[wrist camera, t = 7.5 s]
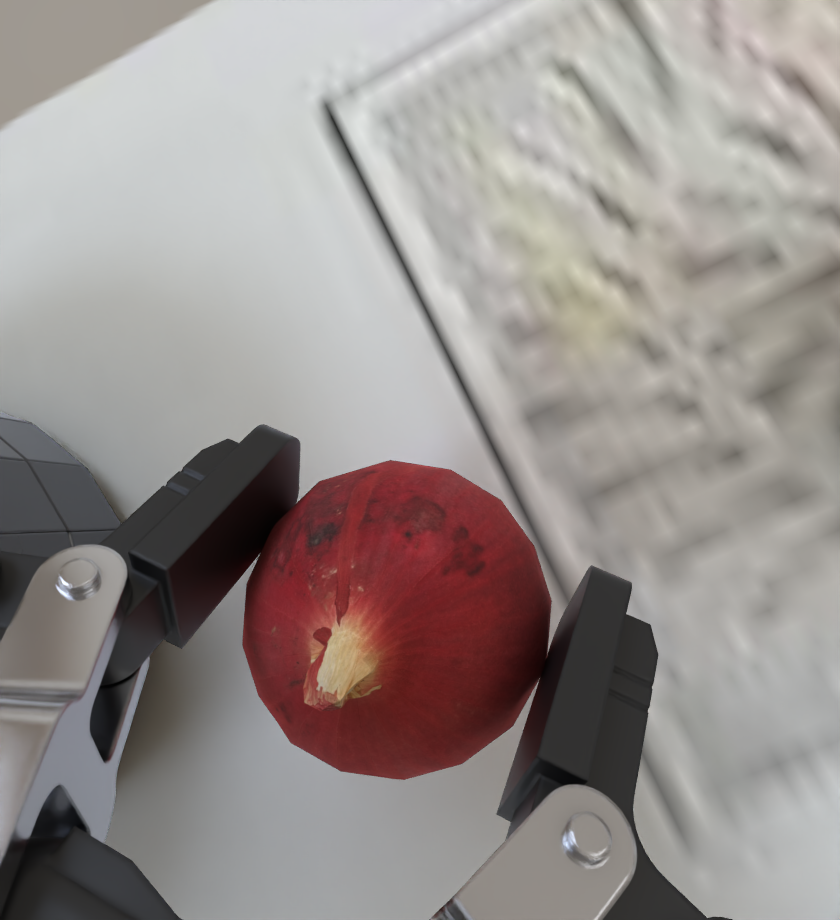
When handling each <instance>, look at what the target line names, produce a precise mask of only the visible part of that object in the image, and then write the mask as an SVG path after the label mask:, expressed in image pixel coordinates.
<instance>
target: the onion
mask: <svg viewBox="0 0 840 920" xmlns="http://www.w3.org/2000/svg"><path fill="white" fill-rule="evenodd" d="M551 602H552V601H551V598H550V594H549V591H548V588H547V585H546V582H545V579H544V575H543V572H542V569H541V566H540V563H539V560H538V556H537V553H536V550H535V547H534V545H533V544H532V542H531V541H530V540H529V538H528V537H527V536H526V534H525V533H524V531H523V530H522V529H521V527H520V526H519V524H518V523H517V522H516V520H515V519H514V517H513V516H512V515H511V513H510V512H509V511H508V509H507V508H506V506H505V505H504V504H503V502H502V501H501V500H500V499H498V498H496V497H495V496H493V495H491V494H490V493H488V492H486V491H485V490H483V489H482V488H480V487H478V486H477V485H475V484H473V483H472V482H470V481H468V480H467V479H465V478H463V477H462V476H460V475H458V474H457V473H455V472H454V471H452V470H449V469H443V468H436V467H430V466H424V465H417V464H411V463H405V462H398V461H392V460H390V461H386V462H382V463H379V464H376V465H372V466H369V467H366V468H362V469H359V470H356V471H352V472H349V473H346V474H342V475H339V476H336V477H332V478H329V479H326V480H322V481H319V482H318V483H317V484H316V485H315V486H314V487H313V488H312V489H311V490H310V491H309V492H308V493H307V494H306V495H305V496H304V497H303V498H302V499H301V500H300V501H298V502H297V503H296V504H295V505H294V506H293V507H292V508H291V509H290V510H289V511H288V512H287V513H286V514H285V515H284V516H283V517H282V518H281V519H280V520H279V521H278V522H276V524H275V525H274V527H273V529H272V530H271V532H270V534H269V536H268V538H267V540H266V543H265V545H264V547H263V549H262V551H261V554H260V556H259V558H258V560H257V562H256V565H255V567H254V569H253V571H252V573H251V576H250V578H249V580H248V582H247V587H246V600H245V614H244V628H243V648H244V651H245V655H246V658H247V661H248V664H249V667H250V670H251V673H252V677H253V680H254V683H255V686H256V689H257V692H258V696H259V697H260V698H261V700H262V701H263V703H264V704H265V706H266V707H267V708H268V710H269V711H270V713H271V714H272V715H273V717H274V718H275V720H276V721H277V722H278V724H279V726H280V727H281V729H282V730H283V732H284V733H285V735H286V736H287V738H288V739H289V741H290V742H291V743H292V744H294V745H296V746H297V747H299V748H301V749H303V750H304V751H306V752H308V753H310V754H311V755H313V756H315V757H317V758H318V759H320V760H322V761H324V762H325V763H327V764H329V765H331V766H332V767H334V768H336V769H338V770H339V771H342V772H349V773H356V774H364V775H371V776H378V777H385V778H392V779H402V780H405V779H408V778H412V777H416V776H419V775H423V774H427V773H430V772H434V771H438V770H442V769H445V768H449V767H453V766H456V765H460V764H462V763H464V762H465V761H466V760H468V759H469V758H471V757H472V756H473V755H475V754H476V753H477V752H479V751H480V750H481V749H483V748H484V747H485V746H487V745H488V744H489V743H491V742H492V741H494V740H495V739H496V738H498V737H499V736H500V735H502V734H503V733H504V732H506V731H507V730H508V729H510V728H511V727H512V726H513V725H514V723H515V721H516V720H517V718H518V716H519V714H520V712H521V711H522V709H523V707H524V705H525V703H526V702H527V700H528V698H529V696H530V695H531V693H532V691H533V689H534V687H535V686H536V684H537V682H538V680H539V678H540V677H541V674H542V672H543V670H544V667H545V662H546V658H547V652H548V639H549V627H550V614H551Z"/></svg>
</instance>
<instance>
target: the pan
mask: <svg viewBox="0 0 840 920" xmlns="http://www.w3.org/2000/svg"><path fill="white" fill-rule="evenodd" d="M120 525H121V523H120V521H119V520H118V518H117V516H116V515H115V513H114V511H113V510H112V508H111V506H110V505H109V503H108V502H107V500H106V498H105V497H104V495H103V493H102V492H101V490H100V488H99V487H98V485H97V484H96V482H95V480H94V479H93V477H92V475H91V474H90V472H89V470H88V469H87V468H86V467H84V465H83V464H82V463H80V462H79V461H78V460H77V459H75V458H74V457H73V456H72V455H71V454H69V453H68V452H67V451H66V450H65V449H63V448H62V447H61V446H60V445H59V444H57V443H56V442H55V441H54V440H53V439H51V438H50V437H49V436H48V435H47V434H45V433H44V432H43V431H42V430H41V429H39V428H38V427H37V426H36V425H33V424H32V423H31V422H28V421H26V420H23V419H20V418H17V417H14V416H11V415H8V414H5V413H3V412H0V551H5V552H12V553H20V554H27V555H34V556H41V557H51V556H53V555H54V554H56V553H58V552H60V551H62V550H65V549H67V548H70V547H74V546H78V545H86V544H95V545H97V544H99V543H100V542H102V541H103V540H104V539H106V538H107V537H108V536H109V535H110V534H111V533H112V532H113V531H114V530H116V529H117V528H118V527H119V526H120Z"/></svg>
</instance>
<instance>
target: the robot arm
mask: <svg viewBox="0 0 840 920" xmlns="http://www.w3.org/2000/svg"><path fill="white" fill-rule="evenodd" d="M299 469H300V442H299V440H298V439H297V438H295V437H292V436H290V435H288V434H285V433H283V432H281V431H278V430H276V429H274V428H271V427H269V426H267V425H264V424H263V425H259V426H257V427H256V428H255V429H254V430H253V431H252V432H251V433H250V434H248V435H247V436H246V437H245V438H244V439H243V440H242V441H241V442H240V443H237V442H235V441H233V440H230V439H226V440H224V441H221V442H219V443H217V444H215V445H212V446H210V447H208V448H206V449H203V450H202V451H200V452H199V453H198V454H197V455H196V456H195V457H194V458H193V459H192V460H191V461H190V462H189V463H187V464H186V465H185V466H184V467H183V469H182V471H181V472H180V471H179V472H178V473H177V474H175V475H174V476H173V477H172V478H171V479H170V480H169V481H168V482H167V485H166V486H162V487H161V488H160V489H159V490H158V491H157V492H156V493H155V494H154V495H153V496H152V497H150V498H149V499H148V500H147V501H146V502H145V503H144V504H143V505H142V506H141V507H140V508H138V509H137V510H136V511H135V512H134V513H133V514H132V515H131V516H130V517H129V518H128V519H126V520H125V521H124V522H123V523H122V524H121V525H120V526H119V527H118V528H117V529H116V530H114V531H113V532H112V533H111V534H110V535H109V536H108V537H107V538H106V539H104V540H103V541H102V542H100V543H99V544H97V545H95V544H86V545H78V546H74V547H70V548H67V549H65V550H62V551H60V552H58V553H56V554H54V555H53V556H51V557H41V556H34V555H27V554H20V553H12V552H5V551H0V920H182V919H180V918H179V917H178V916H177V915H176V914H175V913H174V911H173V910H172V909H171V908H170V906H169V905H168V904H167V903H166V902H165V900H164V899H163V898H162V897H161V895H160V894H159V893H158V892H157V891H156V889H155V888H154V887H153V886H152V884H151V883H150V882H149V881H148V879H147V878H146V877H145V876H144V875H143V873H142V872H141V871H140V870H139V868H138V867H137V866H136V865H135V864H134V862H133V861H132V860H130V859H129V858H127V857H125V856H124V855H122V854H120V853H119V852H117V851H115V850H114V849H112V848H110V847H109V846H107V845H105V840H106V837H107V834H108V830H109V827H110V823H111V819H112V815H113V810H114V805H115V797H116V777H117V771H118V766H119V762H120V759H121V756H122V752H123V749H124V746H125V743H126V739H127V736H128V733H129V730H130V726H131V723H132V720H133V717H134V713H135V710H136V707H137V704H138V700H139V697H140V694H141V691H142V687H143V684H144V681H145V678H146V674H147V671H148V668H149V663H150V654H151V653H152V652H153V651H154V650H155V649H156V647H157V646H158V645H159V644H160V643H161V642H162V640H163V639H164V640H166V641H167V642H169V643H171V644H173V645H175V646H177V647H179V648H181V649H182V648H183V647H184V645H185V644H186V643H187V642H188V641H189V639H190V638H191V637H192V636H193V634H194V633H195V632H196V631H197V630H198V628H199V627H200V626H201V625H202V623H203V622H204V621H205V620H206V619H207V617H208V616H209V615H210V614H211V613H212V611H213V610H214V609H215V608H216V606H217V605H218V604H219V603H220V602H221V600H222V599H223V598H224V597H225V595H226V594H227V593H228V592H229V591H230V589H231V588H232V587H233V586H234V584H235V583H236V582H237V581H238V580H239V578H240V577H241V576H242V575H243V574H244V572H245V571H246V570H247V569H248V567H249V566H250V565H251V564H252V563H253V561H254V560H255V559H256V558H257V556H258V555H259V554H260V553H261V551H262V549H263V547H264V545H265V543H266V540H267V538H268V536H269V534H270V532H271V530H272V529H273V527H274V525H275V524H276V522H278V521H279V520H280V519H281V518H282V517H283V516H284V515H285V514H286V513H287V512H288V511H289V510H290V509H291V508H292V507H293V506H294V505H295V504H296V502H297V498H298V493H299ZM631 589H632V583H631V582H629V581H627V580H624V579H622V578H620V577H617V576H615V575H613V574H610V573H608V572H606V571H603V570H601V569H599V568H596V567H594V566H592V565H591V566H590V567H589V569H588V570H587V572H586V574H585V576H584V577H583V579H582V581H581V583H580V585H579V586H578V588H577V590H576V592H575V594H574V595H573V597H572V599H571V601H570V603H569V604H568V606H567V608H566V610H565V612H564V614H563V616H562V618H561V620H560V622H559V625H558V627H557V629H556V632H555V635H554V637H553V640H552V643H551V646H550V649H549V652H548V655H547V658H546V662H545V667H544V670H543V672H542V674H541V677H540V680H539V683H538V686H537V689H536V693H535V696H534V699H533V702H532V705H531V708H530V711H529V714H528V718H527V721H526V724H525V727H524V730H523V733H522V736H521V739H520V742H519V746H518V749H517V752H516V755H515V758H514V761H513V764H512V767H511V771H510V774H509V777H508V780H507V783H506V786H505V789H504V792H503V795H502V799H501V802H500V805H499V808H498V811H497V815H499V816H501V817H502V818H504V819H506V820H508V821H510V822H511V824H510V827H509V830H508V834H507V837H506V840H505V842H504V843H503V844H502V845H501V846H500V847H499V848H498V849H497V850H496V851H495V852H494V854H493V855H492V856H491V857H490V858H489V859H488V860H487V861H486V862H485V863H484V864H483V865H482V866H481V867H480V869H479V870H478V871H477V872H476V873H475V874H474V875H473V876H472V877H471V878H470V879H469V880H468V881H467V882H466V884H465V885H464V886H463V887H462V888H461V889H460V890H459V891H458V892H457V893H456V894H455V895H454V896H453V897H452V898H451V899H450V900H449V901H448V902H447V903H446V904H445V905H444V906H443V907H442V908H441V909H440V910H439V911H438V912H437V913H436V914H435V915H434V916H433V917H432V918H431V919H430V920H732V919H728V918H724V917H711V918H707V917H706V916H705V915H704V914H703V913H702V912H701V911H699V910H698V909H697V908H696V907H695V906H694V905H693V904H692V903H691V902H690V901H689V900H688V899H687V898H686V897H685V896H684V895H683V894H682V893H680V892H679V891H678V890H677V889H676V888H675V887H674V886H673V885H672V884H671V883H670V882H669V881H668V880H667V879H666V878H665V877H664V876H663V875H662V874H661V873H660V872H659V871H658V870H657V868H656V867H655V866H654V864H653V863H652V862H651V860H650V859H649V857H648V855H647V854H646V852H645V850H644V849H643V846H642V844H641V842H640V840H639V837H638V834H637V831H636V827H635V822H634V816H633V802H634V794H635V788H636V782H637V777H638V771H639V765H640V759H641V753H642V747H643V741H644V736H645V730H646V724H647V718H648V708H649V706H650V700H651V695H652V685H653V683H654V677H655V671H656V665H657V659H658V652H657V648H656V644H655V640H654V637H653V633H652V629H651V625H650V624H648V623H645V622H643V621H641V620H639V619H636V618H634V617H632V616H629V615H627V614H626V612H627V607H628V603H629V599H630V594H631Z"/></svg>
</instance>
